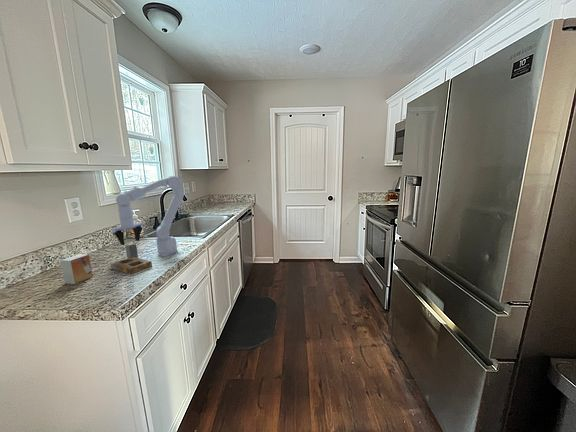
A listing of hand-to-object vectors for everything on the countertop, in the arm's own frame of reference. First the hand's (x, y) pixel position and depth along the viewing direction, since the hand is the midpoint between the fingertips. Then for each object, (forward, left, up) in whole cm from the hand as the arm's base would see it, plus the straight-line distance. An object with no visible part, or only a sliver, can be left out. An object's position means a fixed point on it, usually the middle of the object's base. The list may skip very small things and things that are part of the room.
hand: (130, 242), depth 127 cm
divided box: (+7, +12, -9) cm, 17 cm away
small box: (+25, +4, -10) cm, 27 cm away
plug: (0, 0, -9) cm, 9 cm away
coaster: (0, 0, -9) cm, 9 cm away
